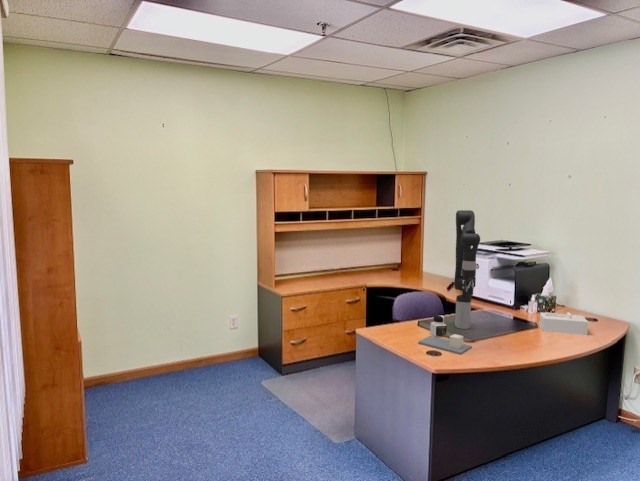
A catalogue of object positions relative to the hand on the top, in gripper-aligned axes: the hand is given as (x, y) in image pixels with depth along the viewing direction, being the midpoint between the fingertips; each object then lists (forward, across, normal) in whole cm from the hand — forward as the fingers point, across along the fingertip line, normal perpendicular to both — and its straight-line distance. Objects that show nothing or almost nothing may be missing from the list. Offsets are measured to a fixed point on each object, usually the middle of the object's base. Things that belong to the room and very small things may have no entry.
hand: (467, 296), depth 272 cm
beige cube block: (+27, +12, 0) cm, 29 cm away
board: (+28, +12, -7) cm, 31 cm away
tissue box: (+29, -66, +34) cm, 80 cm away
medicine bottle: (+28, -3, -19) cm, 34 cm away
